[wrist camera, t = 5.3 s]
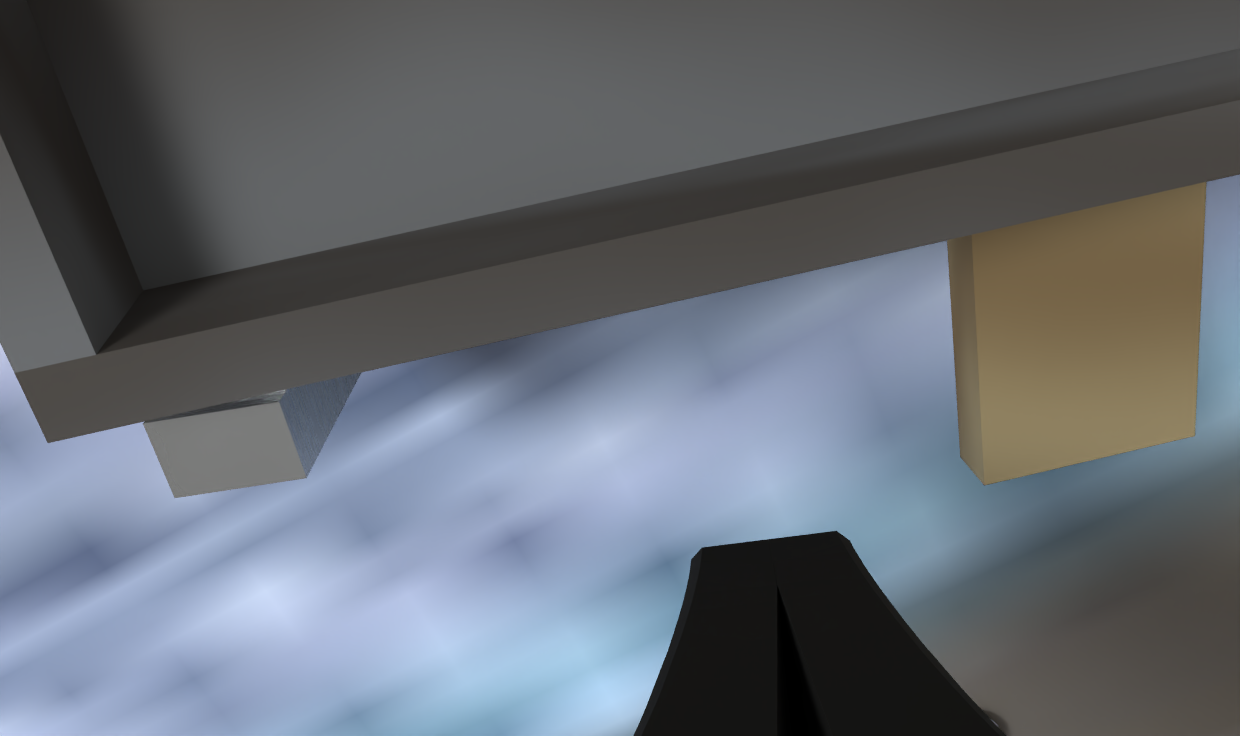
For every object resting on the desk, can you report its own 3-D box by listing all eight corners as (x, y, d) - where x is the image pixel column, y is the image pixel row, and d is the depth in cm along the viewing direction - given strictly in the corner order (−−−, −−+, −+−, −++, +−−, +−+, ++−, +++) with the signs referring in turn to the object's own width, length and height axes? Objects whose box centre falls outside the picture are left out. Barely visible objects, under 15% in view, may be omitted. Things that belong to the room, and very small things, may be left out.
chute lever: (1228, 394, 16) (1360, 486, 14) (238, 626, 15) (200, 762, 13) (1287, -630, 11) (1514, -763, 9) (-171, -345, 10) (-354, -404, 8)
